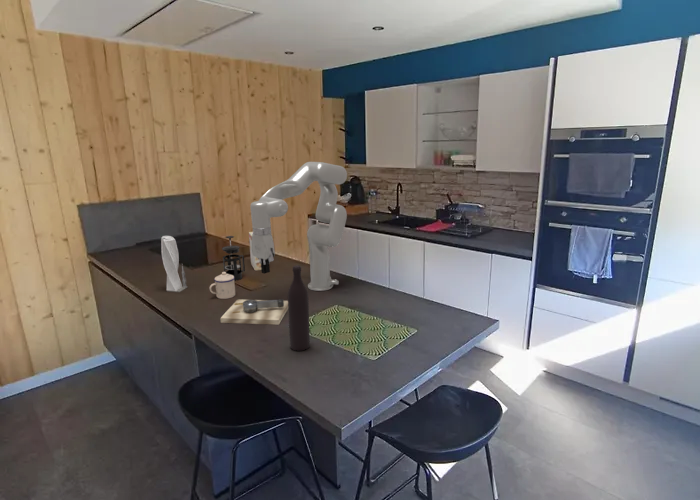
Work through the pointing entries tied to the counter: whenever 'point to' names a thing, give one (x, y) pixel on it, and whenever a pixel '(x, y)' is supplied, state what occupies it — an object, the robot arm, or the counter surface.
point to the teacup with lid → (224, 286)
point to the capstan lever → (260, 304)
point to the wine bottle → (298, 312)
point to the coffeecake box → (254, 260)
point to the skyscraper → (172, 264)
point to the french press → (233, 268)
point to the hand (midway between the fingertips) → (265, 272)
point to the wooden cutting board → (254, 314)
